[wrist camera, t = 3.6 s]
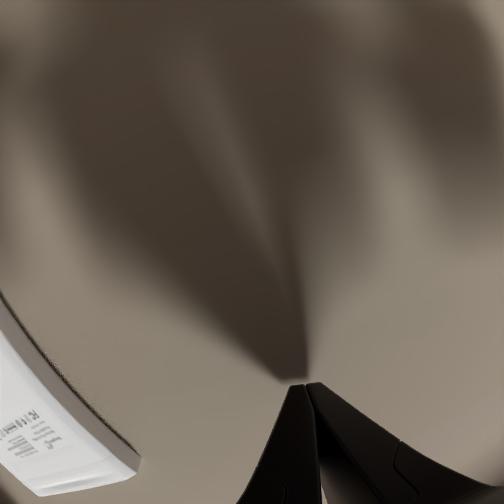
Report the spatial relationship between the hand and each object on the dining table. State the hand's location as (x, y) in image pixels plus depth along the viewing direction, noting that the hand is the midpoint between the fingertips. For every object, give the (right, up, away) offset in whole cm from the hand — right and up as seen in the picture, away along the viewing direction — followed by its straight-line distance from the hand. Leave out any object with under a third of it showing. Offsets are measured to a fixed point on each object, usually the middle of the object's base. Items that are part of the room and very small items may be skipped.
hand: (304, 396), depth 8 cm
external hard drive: (-12, -1, +1) cm, 12 cm away
